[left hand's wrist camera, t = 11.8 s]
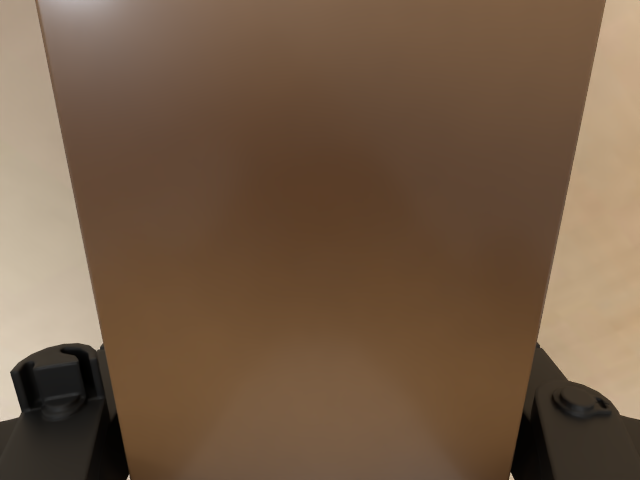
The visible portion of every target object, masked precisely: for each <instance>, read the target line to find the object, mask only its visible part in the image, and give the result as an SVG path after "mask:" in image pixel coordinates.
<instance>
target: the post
mask: <svg viewBox="0 0 640 480" xmlns="http://www.w3.org/2000/svg"><path fill="white" fill-rule="evenodd" d="M35 2H36V7H37V12H38V17H39V22H40V27H41V32H42V37H43V42H44V47H45V52H46V57H47V62H48V67H49V72H50V77H51V82H52V87H53V92H54V97H55V102H56V107H57V113H58V118H59V123H60V128H61V133H62V138H63V143H64V148H65V153H66V158H67V163H68V168H69V173H70V178H71V183H72V188H73V193H74V198H75V203H76V208H77V213H78V218H79V223H80V228H81V233H82V238H83V243H84V248H85V253H86V258H87V263H88V268H89V273H90V278H91V283H92V289H93V294H94V299H95V304H96V309H97V314H98V319H99V324H100V329H101V334H102V339H103V344H104V349H105V354H106V359H107V364H108V369H109V374H110V379H111V384H112V389H113V394H114V399H115V404H116V409H117V414H118V419H119V424H120V429H121V434H122V439H123V444H124V449H125V454H126V460H127V465H128V470H129V475H130V480H509V476H510V471H511V467H512V462H513V457H514V452H515V447H516V442H517V437H518V432H519V427H520V422H521V417H522V412H523V407H524V402H525V397H526V392H527V387H528V382H529V378H530V373H531V368H532V363H533V358H534V353H535V348H536V343H537V338H538V333H539V328H540V323H541V318H542V313H543V308H544V303H545V298H546V293H547V289H548V284H549V279H550V274H551V269H552V264H553V259H554V254H555V249H556V244H557V239H558V234H559V229H560V224H561V219H562V214H563V209H564V205H565V200H566V195H567V190H568V185H569V180H570V175H571V170H572V165H573V160H574V155H575V150H576V145H577V140H578V135H579V130H580V125H581V120H582V116H583V111H584V106H585V101H586V96H587V91H588V86H589V81H590V76H591V71H592V66H593V61H594V56H595V51H596V46H597V41H598V36H599V31H600V27H601V22H602V17H603V12H604V7H605V2H606V0H35Z"/></svg>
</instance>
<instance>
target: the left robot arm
mask: <svg viewBox="0 0 640 480" xmlns="http://www.w3.org/2000/svg"><path fill="white" fill-rule="evenodd" d="M10 373H11V377H12V380H13V384H14V387H15V390H16V394H17V397H18V401H19V404H20V408H21V411H22V413H21V415H20V417H18V418H15V419H11V420H7V421H2V422H0V480H126V479H127V477H128V475H129V470H128V465H127V460H126V454H125V449H124V444H123V439H122V434H121V429H120V424H119V419H118V414H117V409H116V404H115V399H114V394H113V389H112V384H111V379H110V374H109V369H108V364H107V359H106V354H105V349H104V344H102V345H101V347H100V350H97V352H96V350H95V349H93V348H92V347H91V346H89V345H84V344H80V343H73V344H61V345H57V346H53V347H48V348H46V349H43V350H41V351H38V352H36V353H33V354H31V355H30V356H28V357H27V358H25V359H23V360H22V361H20V362H19V363H18V364H17V365H16V366H15V367H14V368H13V369H12V371H11V372H10ZM511 474H512V476H513V478H514V480H640V420H638V419H633V418H629V417H625V416H622V415H620V414H619V412H618V410H617V409H616V408H615V406H614V405H613V404H612V402H611V401H610V400H608V399H607V398H606V397H604V396H603V395H602V394H600V393H599V392H597V391H595V390H593V389H591V388H589V387H587V386H585V385H582V384H578V383H575V382H571V381H568V380H567V378H566V377H565V376H564V375H563V373H562V372H561V371H560V370H559V368H558V367H557V366H556V365H555V364H554V362H553V361H552V360H551V359H550V357H549V356H548V355H547V354H546V352H545V351H544V350H543V349H542V348H540V345H539V344H538V343H536V348H535V353H534V358H533V363H532V368H531V373H530V378H529V382H528V387H527V392H526V397H525V402H524V407H523V412H522V417H521V422H520V427H519V432H518V437H517V442H516V447H515V452H514V457H513V462H512V467H511Z"/></svg>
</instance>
